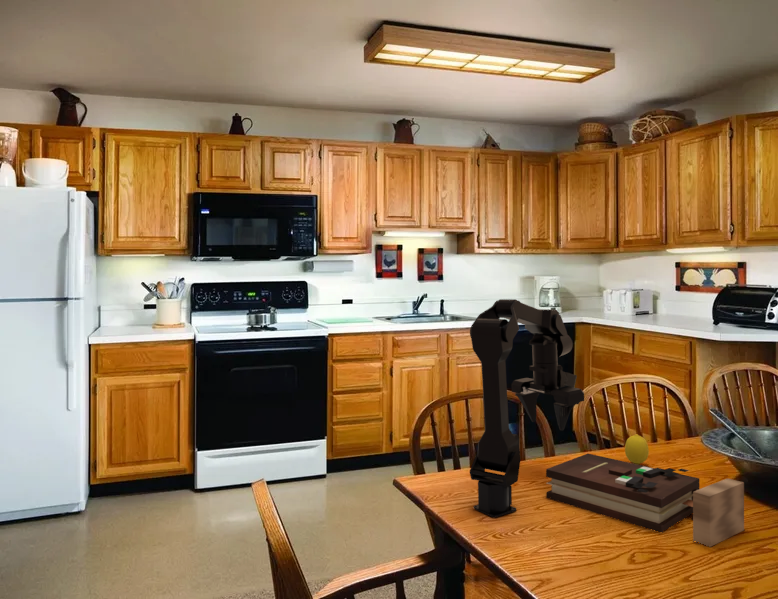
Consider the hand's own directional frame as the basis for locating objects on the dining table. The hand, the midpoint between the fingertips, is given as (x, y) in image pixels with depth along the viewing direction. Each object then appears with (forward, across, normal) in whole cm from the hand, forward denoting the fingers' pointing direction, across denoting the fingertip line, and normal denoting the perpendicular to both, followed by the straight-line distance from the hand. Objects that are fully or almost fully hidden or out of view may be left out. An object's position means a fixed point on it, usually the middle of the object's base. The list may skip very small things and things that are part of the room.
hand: (547, 425), depth 146 cm
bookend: (+12, -42, -1) cm, 43 cm away
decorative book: (+12, -21, +1) cm, 25 cm away
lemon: (+14, -7, -24) cm, 28 cm away
